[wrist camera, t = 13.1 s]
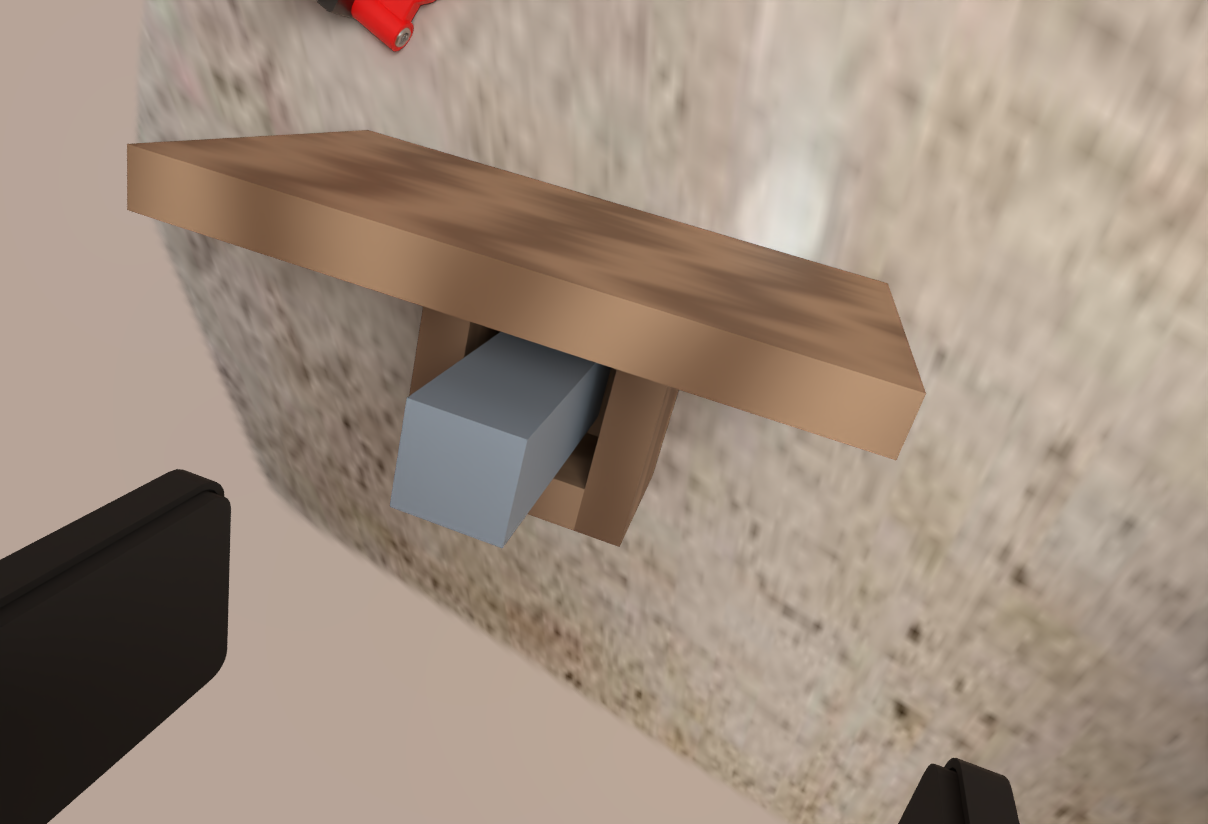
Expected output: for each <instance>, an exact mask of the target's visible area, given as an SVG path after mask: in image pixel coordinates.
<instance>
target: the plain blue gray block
mask: <svg viewBox="0 0 1208 824" xmlns="http://www.w3.org/2000/svg"><path fill="white" fill-rule="evenodd" d="M610 371H611V367H608V366H605V365H602V364H599V363H596V362H593V361H590V360H587V359H584V358H581V357H578V356H574V355H571V354H568V353H565V352H562V351H559V350H556V349H553V348H550V347H547V346H544V345H541V344H538V343H535V342H531V341H528V340H525V339H522V338H519V337H516V336H513V335H510V334H507V333H504V332H500V333H499V334H497V335H496V336H494V337H493V338H491V339H490V340H489V341H487V342H486V343H484V344H483V345H481V346H480V347H479V348H477V349H476V350H474V351H473V352H471V353H470V354H469V355H467V356H466V357H464V358H463V359H461V360H460V361H459V362H457V363H456V364H454V365H453V366H452V367H450V368H449V369H447V370H446V371H444V372H443V373H442V374H440V375H439V376H437V377H436V378H434V379H433V380H432V381H430V382H429V383H427V384H426V385H424V386H423V387H422V388H420V389H419V390H417V391H416V392H415V393H413V394H412V395H410V396H409V397H407V400H406V406H405V413H404V419H403V425H402V432H401V438H400V444H399V451H398V457H397V463H396V470H395V476H394V482H393V489H392V495H391V501H390V507H392V508H394V509H397V510H400V511H403V512H405V513H408V514H411V515H413V516H416V517H419V518H422V519H424V520H427V521H430V522H432V523H435V524H438V525H440V526H443V527H446V528H449V529H451V530H454V531H457V532H459V533H462V534H465V535H467V536H470V537H473V538H476V539H478V540H481V541H484V542H486V543H489V544H492V545H495V546H497V547H500V548H503V547H504V545H505V544H506V543H507V541H508V540H509V539H510V537H511V536H512V534H513V533H514V532H515V530H516V529H517V528H518V526H519V525H520V523H521V522H522V521H523V519H524V518H525V516H526V515H527V514H528V512H529V511H530V510H531V508H532V507H533V505H534V504H535V503H536V501H537V500H538V499H539V497H540V496H541V494H542V493H543V492H544V490H545V489H546V488H547V486H548V485H549V483H550V482H551V481H552V479H553V478H554V477H555V475H556V474H557V472H558V471H559V470H560V468H561V467H562V466H563V464H564V463H565V461H566V460H567V459H568V457H569V456H570V455H571V453H572V452H573V450H574V449H575V448H576V446H577V445H578V444H579V442H580V441H581V439H582V438H583V437H584V435H585V434H586V433H587V431H588V430H589V428H590V427H591V426H592V424H593V423H594V422H595V420H596V419H597V417H598V415H599V411H600V408H601V404H602V400H603V397H604V393H605V389H606V385H607V382H608V378H609V374H610Z"/></svg>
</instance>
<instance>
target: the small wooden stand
mask: <svg viewBox="0 0 1208 824" xmlns="http://www.w3.org/2000/svg"><path fill="white" fill-rule="evenodd" d="M127 205H128V206H127V210H129V211H132V212H135V213H138V214H142V215H145V216H148V217H151V218H154V219H157V220H160V221H163V222H166V223H169V224H172V225H175V226H178V227H181V228H184V229H188V230H191V231H194V232H197V233H200V234H203V235H206V236H209V237H212V238H215V239H218V240H221V241H224V242H227V243H231V244H234V245H237V246H240V247H243V248H246V249H249V250H252V251H255V252H258V253H261V254H264V255H267V256H270V257H274V258H277V259H280V260H283V261H286V262H289V263H292V264H295V265H298V266H301V267H304V268H307V269H310V270H313V271H317V272H320V273H323V274H326V275H329V276H332V277H335V278H338V279H341V280H344V281H347V282H350V283H353V284H356V285H360V286H363V287H366V288H369V289H372V290H375V291H378V292H381V293H384V294H387V295H390V296H393V297H396V298H399V299H402V300H406V301H409V302H412V303H415V304H418V305H421V306H423V311H422V317H421V324H420V330H419V337H418V343H417V349H416V356H415V362H414V369H413V375H412V382H411V388H410V395H412V394H413V393H415V392H416V391H417V390H419V389H420V388H422V387H423V386H424V385H426V384H427V383H429V382H430V381H432V380H433V379H434V378H436V377H437V376H439V375H440V374H442V373H443V372H444V371H446V370H447V369H449V368H450V367H452V366H453V365H454V364H456V363H457V362H459V361H460V360H461V359H463V358H464V357H466V356H467V355H469V354H470V353H471V352H473V351H474V350H476V349H477V348H479V347H480V346H481V345H483V344H484V343H486V342H487V341H489V340H490V339H491V338H493V337H494V336H496V335H497V334H499V333H500V332H504V333H507V334H510V335H513V336H516V337H519V338H522V339H525V340H528V341H531V342H535V343H538V344H541V345H544V346H547V347H550V348H553V349H556V350H559V351H562V352H565V353H568V354H571V355H574V356H578V357H581V358H584V359H587V360H590V361H593V362H596V363H599V364H602V365H605V366H608V367H611V371H610V374H609V378H608V382H607V385H606V389H605V393H604V397H603V400H602V404H601V408H600V411H599V415H598V417H597V419H596V420H595V422H594V423H593V424H592V426H591V427H590V428H589V430H588V431H587V433H586V434H585V435H584V437H583V438H582V439H581V441H580V442H579V444H578V445H577V446H576V448H575V449H574V450H573V452H572V453H571V455H570V456H569V457H568V459H567V460H566V461H565V463H564V464H563V466H562V467H561V468H560V470H559V471H558V472H557V474H556V475H555V477H554V478H553V479H552V481H551V482H550V483H549V485H548V486H547V488H546V489H545V490H544V492H543V493H542V494H541V496H540V497H539V499H538V500H537V501H536V503H535V504H534V505H533V507H532V508H531V510H530V511H529V512H528V514H529V515H532V516H535V517H538V518H540V519H543V520H546V521H549V522H551V523H554V524H557V525H560V526H563V527H565V528H568V529H571V530H574V531H577V532H579V533H582V534H585V535H588V536H591V537H593V538H596V539H599V540H602V541H605V542H607V543H610V544H613V545H616V546H619V547H620V544H621V542H622V540H623V538H624V536H625V534H626V532H627V529H628V527H629V525H630V523H631V521H632V519H633V516H634V514H635V512H636V510H637V508H638V506H639V504H640V501H641V499H642V497H643V495H644V493H645V491H646V489H647V486H648V484H649V482H650V480H651V478H652V476H653V473H654V469H655V466H656V463H657V459H658V456H659V453H660V450H661V446H662V443H663V440H664V437H665V433H666V430H667V427H668V423H669V420H670V417H671V414H672V410H673V407H674V404H675V401H676V397H677V394H678V391H679V390H682V391H685V392H688V393H691V394H694V395H697V396H700V397H703V398H707V399H710V400H713V401H716V402H719V403H722V404H725V405H728V406H731V407H734V408H737V409H740V410H743V411H746V412H750V413H753V414H756V415H759V416H762V417H765V418H768V419H771V420H774V421H777V422H780V423H783V424H786V425H789V426H793V427H796V428H799V429H802V430H805V431H808V432H811V433H814V434H817V435H820V436H823V437H826V438H829V439H832V440H835V441H839V442H842V443H845V444H848V445H851V446H854V447H857V448H860V449H863V450H866V451H869V452H872V453H875V454H878V455H882V456H885V457H888V458H891V459H894V460H897V457H898V455H899V453H900V451H901V448H902V446H903V444H904V442H905V439H906V437H907V435H908V433H909V430H910V428H911V426H912V424H913V422H914V419H915V417H916V415H917V413H918V410H919V408H920V406H921V404H922V401H923V399H924V397H925V395H926V392H925V389H924V386H923V384H922V381H921V378H920V375H919V372H918V369H917V366H916V363H915V361H914V358H913V355H912V352H911V349H910V346H909V343H908V340H907V338H906V335H905V332H904V329H903V326H902V323H901V320H900V317H899V314H898V312H897V309H896V306H895V303H894V300H893V297H892V294H891V291H890V289H889V286H888V284H887V283H884V282H881V281H877V280H874V279H870V278H867V277H864V276H860V275H857V274H853V273H850V272H847V271H843V270H840V269H837V268H833V267H830V266H826V265H823V264H820V263H816V262H813V261H809V260H806V259H803V258H799V257H796V256H792V255H789V254H786V253H782V252H779V251H776V250H772V249H769V248H765V247H762V246H759V245H755V244H752V243H748V242H745V241H742V240H738V239H735V238H732V237H728V236H725V235H721V234H718V233H715V232H711V231H708V230H704V229H701V228H698V227H694V226H691V225H688V224H684V223H681V222H677V221H674V220H671V219H667V218H664V217H660V216H657V215H654V214H650V213H647V212H644V211H640V210H637V209H633V208H630V207H627V206H623V205H620V204H616V203H613V202H610V201H606V200H603V199H600V198H596V197H593V196H589V195H586V194H583V193H579V192H576V191H572V190H569V189H566V188H562V187H559V186H555V185H552V184H549V183H545V182H542V181H539V180H535V179H532V178H528V177H525V176H522V175H518V174H515V173H511V172H508V171H505V170H501V169H498V168H495V167H491V166H488V165H484V164H481V163H478V162H474V161H471V160H467V159H464V158H461V157H457V156H454V155H451V154H447V153H444V152H440V151H437V150H434V149H430V148H427V147H423V146H420V145H417V144H413V143H410V142H407V141H403V140H400V139H396V138H393V137H390V136H386V135H383V134H379V133H376V132H373V131H369V130H362V131H345V132H327V133H310V134H293V135H275V136H258V137H240V138H223V139H205V140H188V141H170V142H153V143H136V144H127ZM410 395H409V396H410Z"/></svg>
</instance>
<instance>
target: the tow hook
mask: <svg viewBox="0 0 1208 824" xmlns="http://www.w3.org/2000/svg"><path fill="white" fill-rule="evenodd" d="M316 1H317V2H318V3H319V4H320V5H321V6H323V7H324V8H325V9H326V10H327V11H329V12H332V13H335V14H339V15H343V16H346V17H350V18H355V19H356V20H357V21H359V22H360V23H361V24H362V25H363V26H364V27H366V28H367V29H368V30H369V31H370V32H371V33H373V34H374V35H375V36H376V37H377V38H379V39H380V40H381V41H382V42H383V43H384V44H386V45H387V46H388V47H389V48H390V49H392V50H393V51H399V50H400V49H402V48H403V47H404V46H405V45H406V44H407V43H408V41H409V40H410V38H411V36H412V33H413V29H414V28H413V24H412V23H411V21H412V19H413V17H414V16H415V14H416V12H417V10H418V9H419V7H420V5H424V4H428V3H432V2H434V1H436V0H316Z"/></svg>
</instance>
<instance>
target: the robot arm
mask: <svg viewBox="0 0 1208 824" xmlns="http://www.w3.org/2000/svg"><path fill="white" fill-rule="evenodd" d="M230 517H231V506H230V502H229V500H228V499H227V498H225V497H224V490H223V488H222V486H221V485H220V484H218V483H217V482H215V481H212V480H209V479H207V478H204V477H201V476H199V475H196V474H193V473H191V472H188V471H185V470H178V469H176V470H173V471H170V472H168V473H166V474H164V475H162V476H160V477H158V478H156V479H154V480H152V481H151V482H149V483H147V484H145V485H143V486H141V487H139V488H137V489H135V490H133V491H132V492H129V493H128V494H126V495H124V496H122V497H120V498H118V499H116V500H115V501H112V502H111V503H108V504H106V505H105V506H103V507H101V508H99V509H97V510H95V511H93V512H91V513H89V514H87V515H85V516H83V517H82V518H80V519H78V520H76V521H74V522H72V523H70V524H68V525H66V526H64V527H62V528H60V529H59V530H57V531H55V532H53V533H51V534H49V535H47V536H45V537H43V538H41V539H39V540H37V541H35V542H34V543H32V544H30V545H28V546H26V547H24V548H22V549H20V550H18V551H16V552H14V553H12V554H11V555H9V556H7V557H5V558H3V559H1V560H0V824H47V823H48V822H49V821H50V820H51V819H52V818H54V817H55V816H56V815H57V814H58V813H59V812H61V811H62V809H64V808H65V807H66V806H67V805H69V804H70V803H71V802H72V801H73V800H74V799H75V798H76V797H78V796H79V795H80V794H81V793H82V792H83V791H84V790H86V789H87V788H88V787H89V786H90V785H91V784H92V783H94V782H95V781H96V780H97V779H98V778H99V777H100V776H102V775H103V774H104V773H105V772H106V771H107V770H108V769H109V768H111V767H112V766H113V765H114V764H115V763H116V762H118V761H119V760H120V759H121V758H122V757H123V756H124V755H125V754H127V753H128V752H129V751H130V750H131V749H132V748H134V747H135V746H136V745H137V744H138V743H139V742H140V741H142V740H143V739H144V738H145V737H146V736H147V735H148V734H150V733H151V732H152V731H153V730H154V729H155V728H156V727H157V726H159V725H160V724H161V723H162V722H163V721H164V720H166V719H167V718H168V717H169V716H170V715H171V714H172V713H174V712H175V711H176V710H177V709H178V708H179V707H180V706H181V705H183V704H184V703H185V702H186V701H187V700H188V699H189V698H191V697H192V696H193V695H194V694H195V693H196V692H198V690H200V689H201V688H202V687H203V686H204V685H205V684H207V683H208V682H209V681H210V680H211V679H212V678H213V677H214V676H215V675H216V674H217V673H218V671H219V670H220V668H221V667H222V665H223V663H224V660H225V657H226V654H227V636H228V598H229V597H228V596H229V560H230V559H229V558H230V522H231V518H230ZM898 824H1020V823H1019V819H1018V815H1017V810H1016V806H1015V801H1014V797H1013V793H1012V788H1011V785H1010V783H1009V780H1008V779H1007V778H1006V777H1005V776H1003V775H1000V774H998V773H995V772H992V771H990V770H987V769H984V768H982V767H979V766H976V765H974V764H971V763H968V762H966V761H963V760H960V759H958V758H952V759H950V760H949V761H948V762H947V764H946V765H945V767H941V766H939V765H936V764H930V765H929V766H928V768H927V769H926V771H925V772H924V774H923V776H922V778H921V780H920V782H919V784H918V786H917V788H916V790H915V792H914V794H913V796H912V798H911V800H910V802H909V804H908V806H907V808H906V810H905V811H904V813H903V815H902V817H901V819H900V821H899V823H898Z"/></svg>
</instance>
